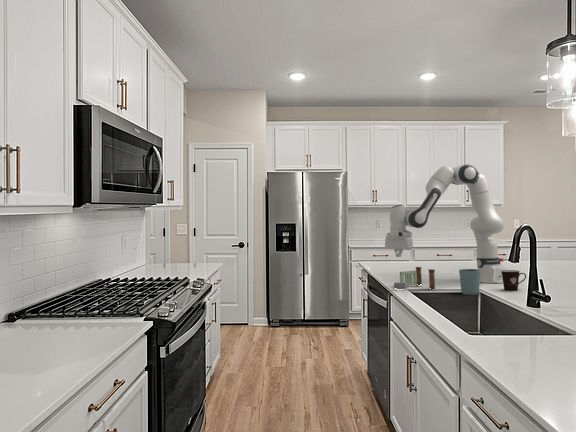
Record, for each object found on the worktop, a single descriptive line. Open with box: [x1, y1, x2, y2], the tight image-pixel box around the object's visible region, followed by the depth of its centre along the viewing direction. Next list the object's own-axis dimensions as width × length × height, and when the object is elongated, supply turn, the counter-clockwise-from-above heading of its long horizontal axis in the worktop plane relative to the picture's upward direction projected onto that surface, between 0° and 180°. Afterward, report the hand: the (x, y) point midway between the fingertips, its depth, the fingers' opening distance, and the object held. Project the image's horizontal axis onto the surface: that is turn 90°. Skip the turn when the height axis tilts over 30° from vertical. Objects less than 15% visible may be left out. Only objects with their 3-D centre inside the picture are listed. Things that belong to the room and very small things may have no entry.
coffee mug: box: [501, 269, 527, 292], centre depth 251 cm, size 12×9×10 cm
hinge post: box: [415, 266, 423, 285], centre depth 276 cm, size 3×3×11 cm
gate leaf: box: [399, 270, 417, 287], centre depth 273 cm, size 2×10×8 cm, turn 113°
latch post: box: [428, 268, 436, 290], centre depth 263 cm, size 4×5×11 cm
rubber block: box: [393, 281, 406, 289], centre depth 264 cm, size 4×4×4 cm
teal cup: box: [458, 268, 481, 296], centre depth 246 cm, size 10×10×12 cm
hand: (398, 256), depth 278 cm, fingers closed
